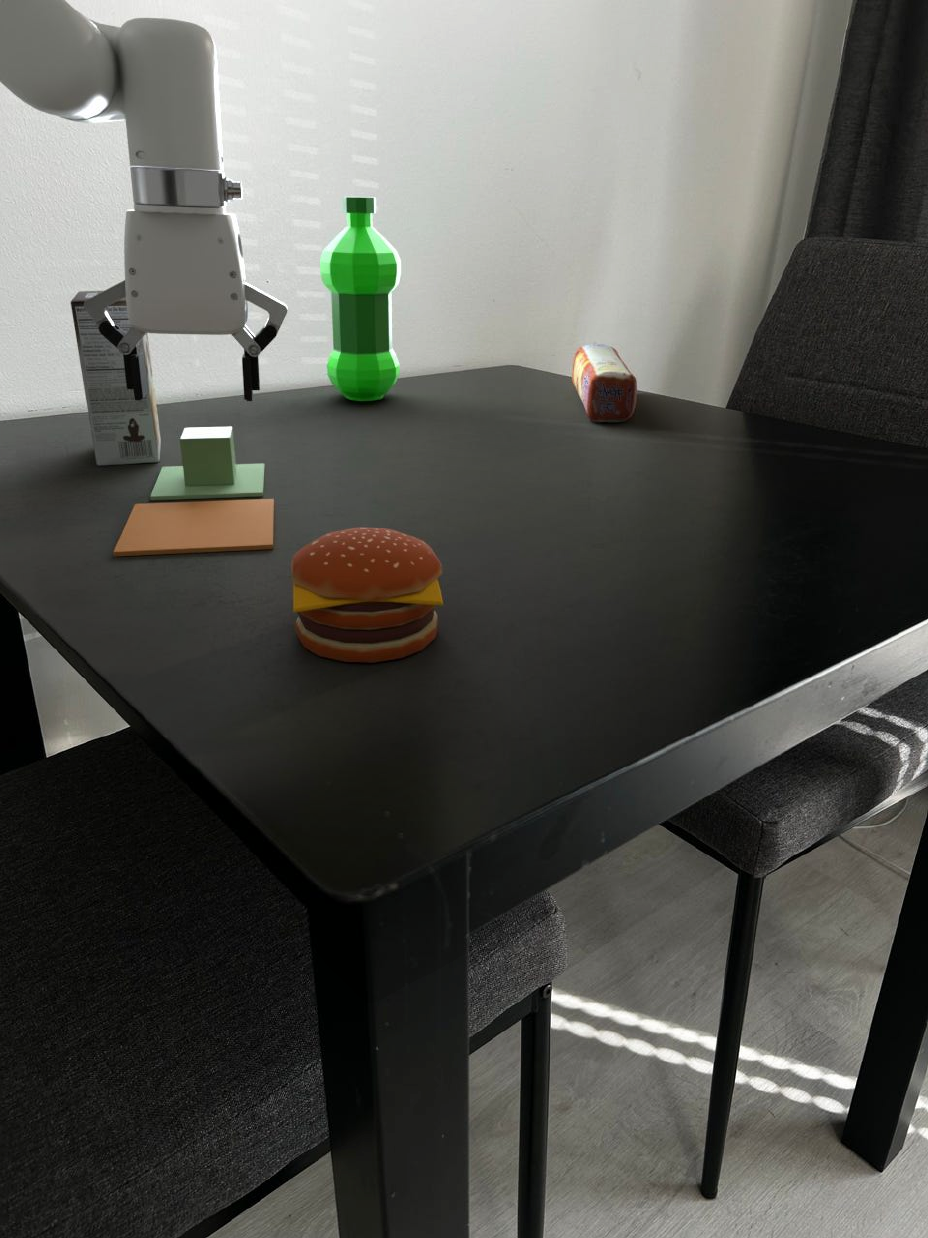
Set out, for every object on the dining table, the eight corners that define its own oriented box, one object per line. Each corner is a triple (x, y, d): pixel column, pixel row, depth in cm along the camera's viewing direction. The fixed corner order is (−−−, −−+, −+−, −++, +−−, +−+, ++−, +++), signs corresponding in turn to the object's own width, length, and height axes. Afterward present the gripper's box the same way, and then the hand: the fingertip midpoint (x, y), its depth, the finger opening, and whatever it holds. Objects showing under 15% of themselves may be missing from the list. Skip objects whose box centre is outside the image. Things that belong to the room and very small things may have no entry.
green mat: (150, 500, 82) (149, 496, 82) (162, 470, 91) (162, 466, 91) (263, 496, 84) (262, 492, 84) (264, 467, 93) (264, 463, 93)
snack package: (636, 425, 113) (641, 369, 110) (582, 423, 113) (586, 368, 110) (615, 391, 132) (620, 343, 130) (570, 390, 133) (573, 341, 130)
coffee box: (100, 444, 100) (77, 289, 93) (161, 441, 102) (142, 289, 95) (95, 466, 92) (68, 299, 85) (161, 463, 94) (140, 298, 87)
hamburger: (297, 673, 54) (289, 568, 51) (294, 607, 62) (287, 514, 59) (454, 661, 55) (455, 558, 52) (430, 598, 64) (430, 507, 61)
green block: (185, 486, 85) (179, 438, 83) (189, 473, 89) (184, 427, 87) (234, 484, 86) (230, 437, 84) (236, 471, 90) (232, 426, 88)
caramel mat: (113, 556, 70) (112, 551, 70) (135, 507, 81) (135, 503, 80) (273, 549, 72) (272, 544, 72) (273, 502, 83) (273, 498, 82)
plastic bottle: (417, 396, 126) (416, 198, 116) (361, 408, 119) (354, 197, 108) (367, 386, 132) (362, 196, 122) (311, 396, 125) (300, 195, 114)
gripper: (283, 198, 82) (290, 390, 89) (79, 188, 79) (103, 389, 86) (283, 199, 75) (291, 407, 83) (61, 188, 72) (89, 406, 79)
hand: (195, 397), depth 84 cm, fingers open, 9 cm apart
